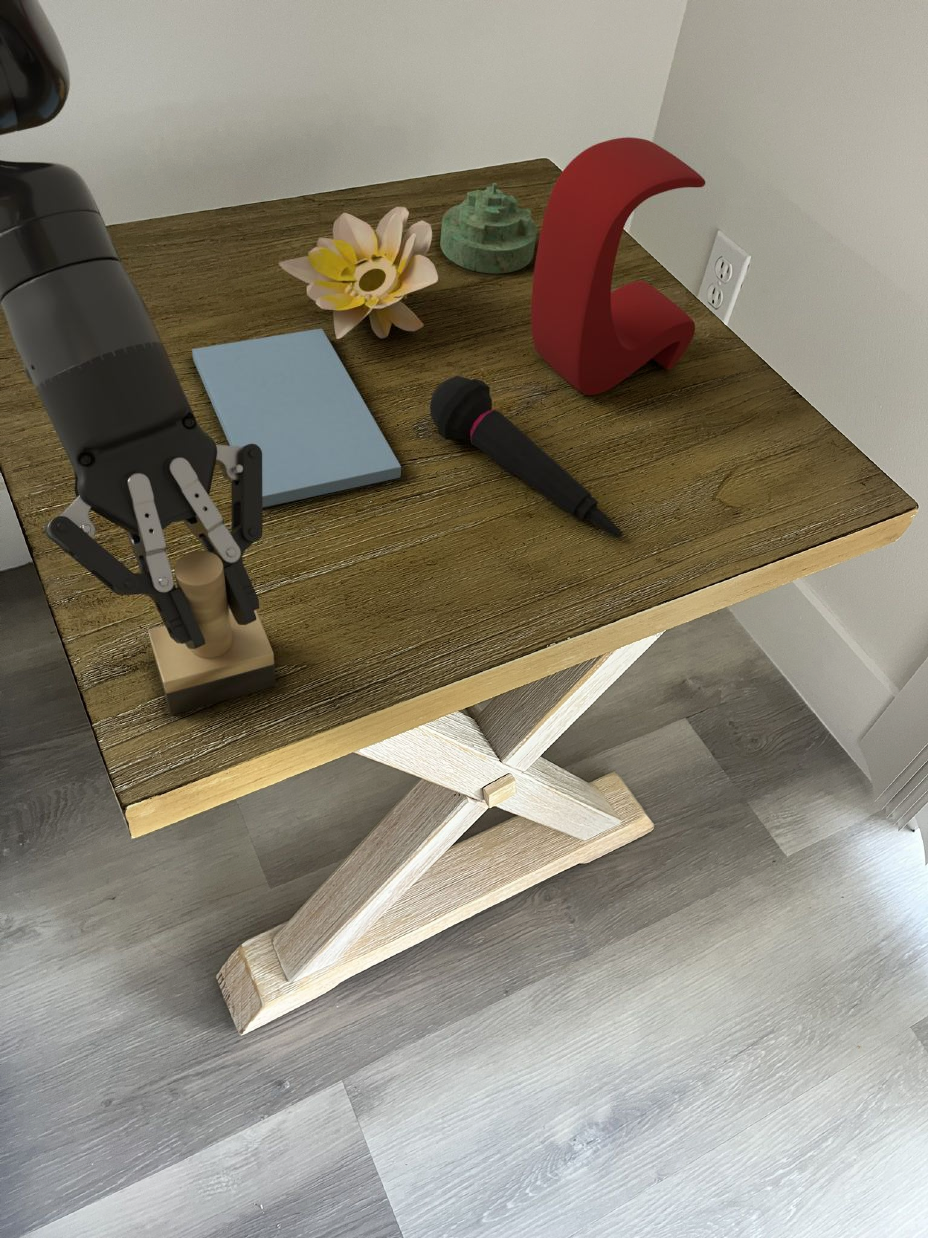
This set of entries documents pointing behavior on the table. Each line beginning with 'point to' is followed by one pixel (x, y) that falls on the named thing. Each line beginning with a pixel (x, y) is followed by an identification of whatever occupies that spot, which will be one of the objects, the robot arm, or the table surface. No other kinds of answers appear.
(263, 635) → the wooden stamp
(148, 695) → the table surface
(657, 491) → the table surface
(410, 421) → the table surface
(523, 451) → the microphone
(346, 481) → the mat
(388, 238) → the decorative flower
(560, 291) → the red curved piece
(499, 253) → the decorative artifact
